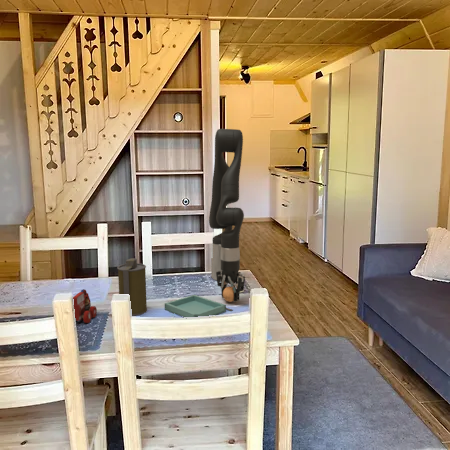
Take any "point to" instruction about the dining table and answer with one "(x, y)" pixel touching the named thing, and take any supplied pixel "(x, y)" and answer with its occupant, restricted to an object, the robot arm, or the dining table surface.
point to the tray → (195, 307)
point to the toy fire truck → (83, 307)
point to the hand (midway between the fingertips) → (230, 299)
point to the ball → (228, 294)
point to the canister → (133, 284)
